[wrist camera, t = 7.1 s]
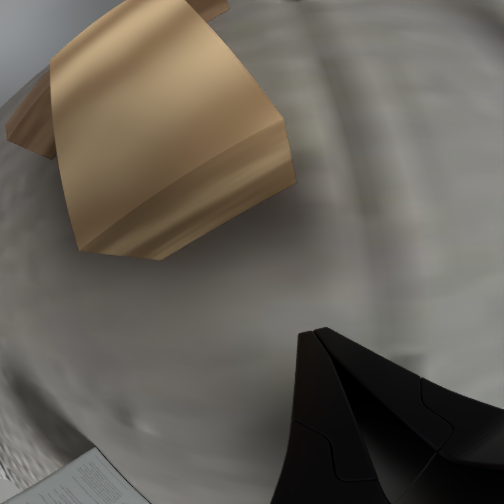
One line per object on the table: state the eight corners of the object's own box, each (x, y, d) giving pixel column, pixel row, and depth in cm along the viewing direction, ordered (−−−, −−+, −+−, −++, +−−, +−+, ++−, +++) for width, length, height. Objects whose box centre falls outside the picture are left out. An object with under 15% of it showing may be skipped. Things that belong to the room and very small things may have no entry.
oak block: (296, 183, 18) (283, 118, 10) (162, 260, 19) (78, 251, 11) (199, 41, 20) (162, -22, 12) (105, 103, 22) (50, 60, 14)
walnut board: (229, 8, 20) (211, -37, 14) (51, 159, 22) (7, 140, 16) (216, 1, 20) (196, -42, 14) (47, 144, 23) (5, 125, 17)
